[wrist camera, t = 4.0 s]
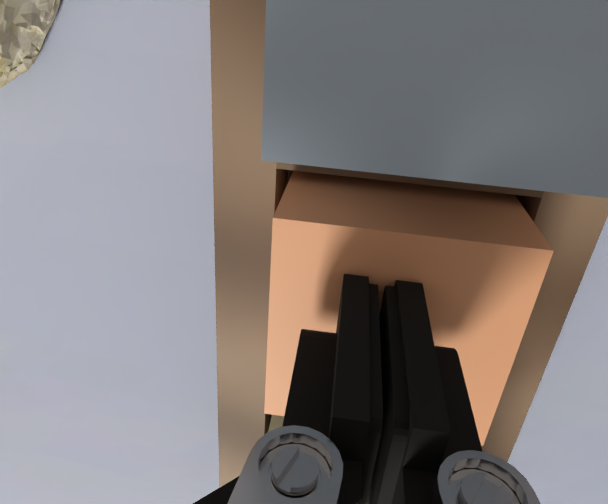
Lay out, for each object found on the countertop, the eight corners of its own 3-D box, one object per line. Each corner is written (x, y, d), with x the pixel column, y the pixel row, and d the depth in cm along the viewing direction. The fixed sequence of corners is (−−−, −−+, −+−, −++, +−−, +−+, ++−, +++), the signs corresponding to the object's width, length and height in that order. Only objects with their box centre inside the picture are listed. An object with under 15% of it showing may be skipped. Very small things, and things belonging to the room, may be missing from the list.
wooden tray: (453, 489, 20) (465, 564, 17) (239, 456, 21) (220, 523, 18) (699, -232, 9) (823, -317, 7) (246, -252, 10) (202, -337, 8)
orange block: (457, 341, 15) (483, 445, 12) (288, 319, 16) (263, 413, 12) (503, 179, 13) (554, 250, 9) (299, 157, 13) (273, 218, 10)
